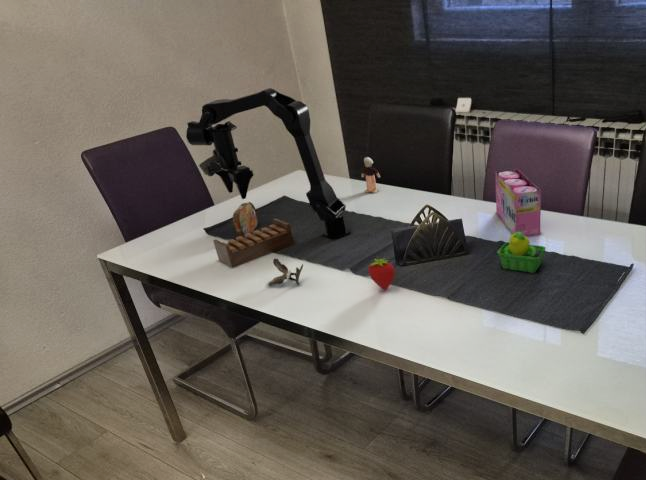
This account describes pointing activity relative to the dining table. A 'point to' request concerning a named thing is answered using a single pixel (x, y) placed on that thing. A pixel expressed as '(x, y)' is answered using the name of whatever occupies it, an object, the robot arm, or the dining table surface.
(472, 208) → the dining table surface
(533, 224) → the gum box
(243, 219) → the tin
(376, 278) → the strawberry
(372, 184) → the grandmother figurine
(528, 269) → the fruit basket
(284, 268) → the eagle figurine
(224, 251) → the rack
